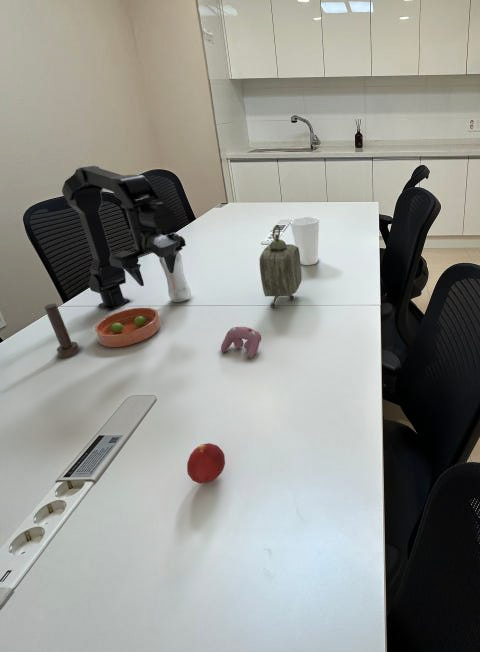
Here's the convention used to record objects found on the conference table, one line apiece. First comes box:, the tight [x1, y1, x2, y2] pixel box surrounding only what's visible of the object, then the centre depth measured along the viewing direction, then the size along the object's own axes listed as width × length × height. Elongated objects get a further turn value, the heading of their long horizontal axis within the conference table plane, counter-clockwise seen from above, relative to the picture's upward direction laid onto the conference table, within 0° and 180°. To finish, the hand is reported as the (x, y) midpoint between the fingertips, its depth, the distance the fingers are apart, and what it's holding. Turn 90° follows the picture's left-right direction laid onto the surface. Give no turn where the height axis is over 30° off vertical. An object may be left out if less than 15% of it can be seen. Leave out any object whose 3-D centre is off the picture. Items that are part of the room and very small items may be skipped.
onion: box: [186, 442, 226, 484], centre depth 64 cm, size 6×6×8 cm
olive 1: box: [110, 323, 123, 334], centre depth 108 cm, size 3×3×3 cm
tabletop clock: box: [259, 224, 303, 309], centre depth 120 cm, size 14×9×25 cm, turn 178°
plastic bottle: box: [158, 251, 192, 303], centre depth 123 cm, size 6×7×20 cm
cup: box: [289, 216, 320, 266], centre depth 151 cm, size 11×10×17 cm
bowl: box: [94, 307, 162, 348], centre depth 108 cm, size 15×15×4 cm
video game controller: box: [220, 326, 262, 359], centre depth 100 cm, size 10×5×7 cm, turn 71°
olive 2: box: [134, 316, 146, 327], centre depth 111 cm, size 3×3×3 cm
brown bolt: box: [44, 303, 81, 359], centre depth 98 cm, size 4×4×14 cm
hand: (157, 279), depth 107 cm, fingers open, 9 cm apart
